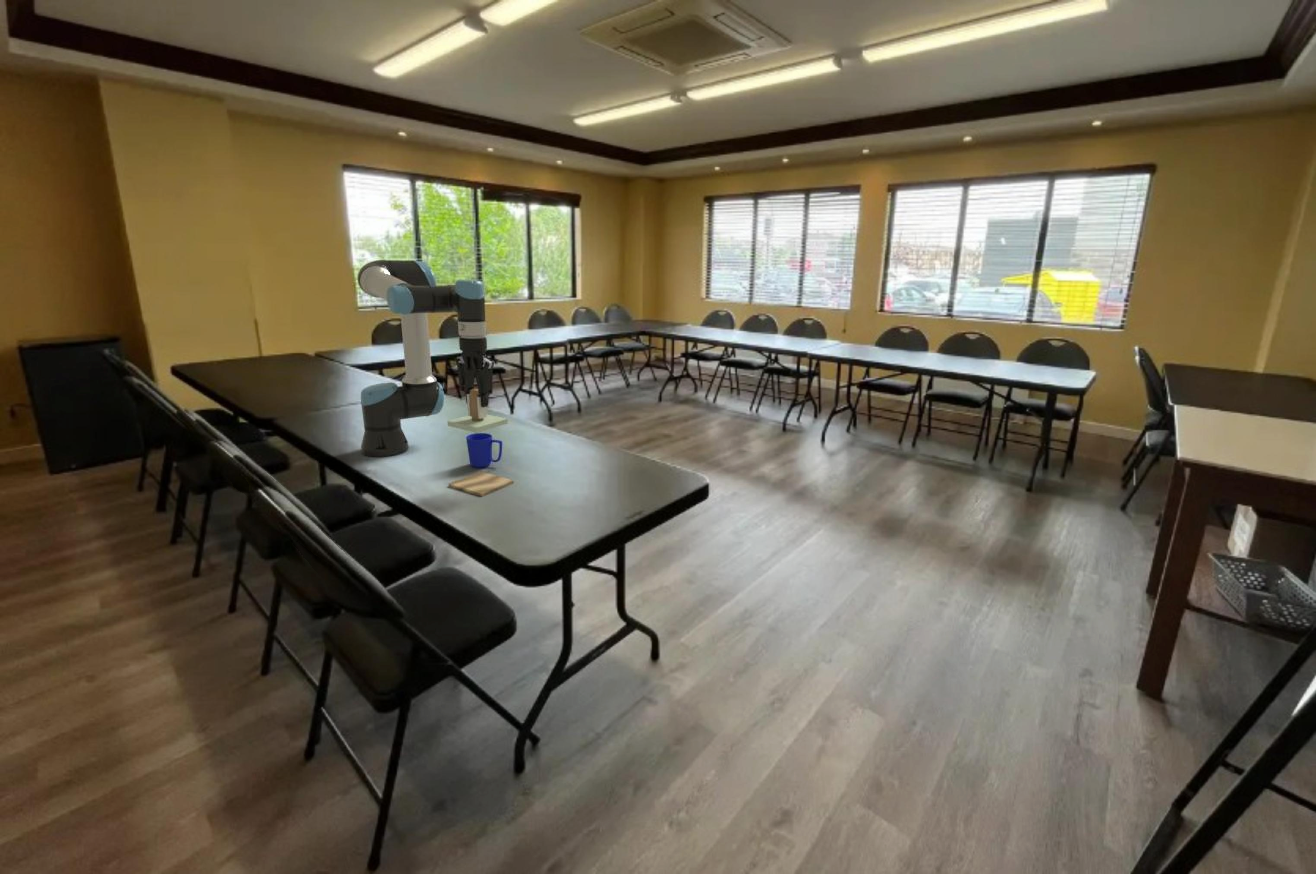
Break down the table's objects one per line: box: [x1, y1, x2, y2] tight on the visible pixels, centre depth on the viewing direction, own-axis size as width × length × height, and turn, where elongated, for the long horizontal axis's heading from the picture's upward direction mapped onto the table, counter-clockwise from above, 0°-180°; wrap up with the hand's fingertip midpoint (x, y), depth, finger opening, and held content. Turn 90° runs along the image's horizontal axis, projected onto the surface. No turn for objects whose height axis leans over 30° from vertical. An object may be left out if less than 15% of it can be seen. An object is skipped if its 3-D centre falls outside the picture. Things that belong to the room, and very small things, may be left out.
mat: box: [448, 471, 515, 497], centre depth 175 cm, size 14×13×1 cm
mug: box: [465, 432, 503, 468], centre depth 190 cm, size 8×12×10 cm
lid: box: [447, 388, 509, 433], centre depth 168 cm, size 12×12×10 cm
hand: (477, 416), depth 169 cm, fingers closed on lid, 3 cm apart
